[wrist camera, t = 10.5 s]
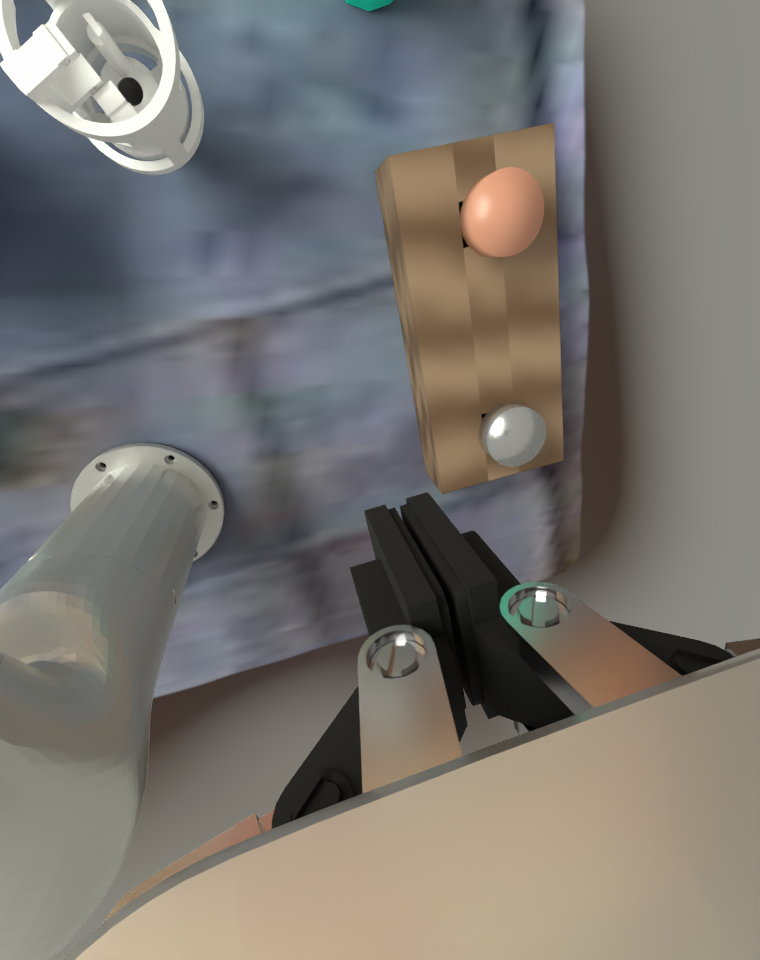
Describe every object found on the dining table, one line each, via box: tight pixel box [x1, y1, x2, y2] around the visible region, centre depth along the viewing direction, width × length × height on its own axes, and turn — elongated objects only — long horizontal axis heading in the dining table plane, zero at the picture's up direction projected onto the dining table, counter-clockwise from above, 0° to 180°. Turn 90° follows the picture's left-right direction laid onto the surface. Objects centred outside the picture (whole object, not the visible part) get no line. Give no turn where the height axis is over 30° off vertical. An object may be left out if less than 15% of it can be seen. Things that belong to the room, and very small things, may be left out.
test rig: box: [375, 123, 564, 494], centre depth 39 cm, size 26×12×5 cm, turn 12°
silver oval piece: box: [479, 402, 546, 467], centre depth 40 cm, size 5×5×7 cm
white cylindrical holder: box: [0, 0, 204, 175], centre depth 25 cm, size 7×7×15 cm
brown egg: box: [460, 167, 544, 258], centre depth 33 cm, size 5×5×7 cm
